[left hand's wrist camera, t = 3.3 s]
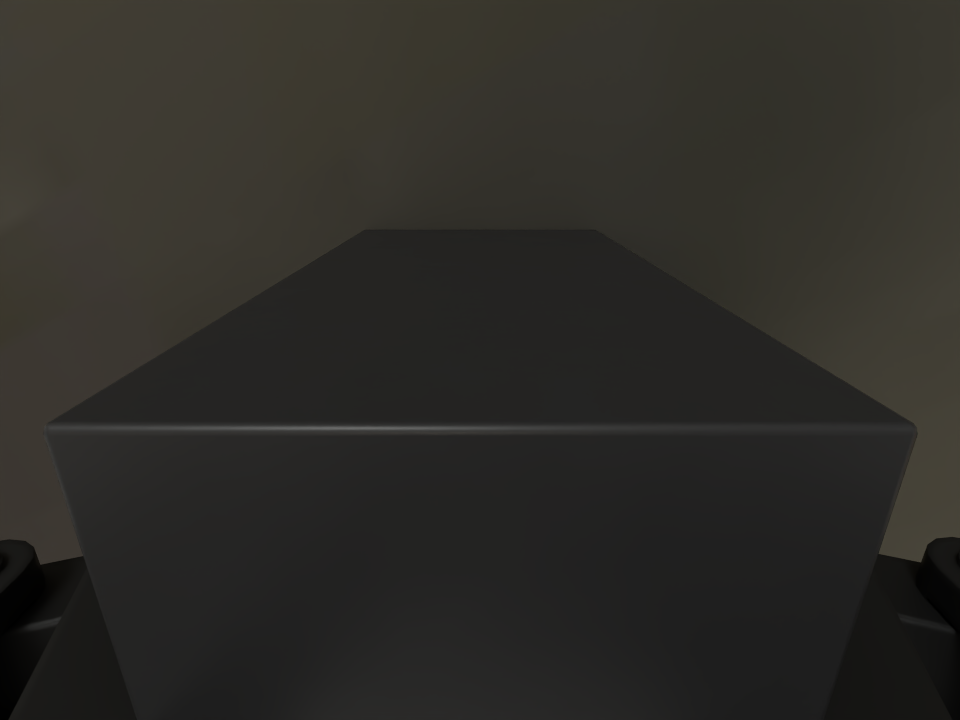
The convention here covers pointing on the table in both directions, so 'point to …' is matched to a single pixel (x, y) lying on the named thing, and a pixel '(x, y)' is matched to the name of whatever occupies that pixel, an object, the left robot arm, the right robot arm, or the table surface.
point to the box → (480, 496)
